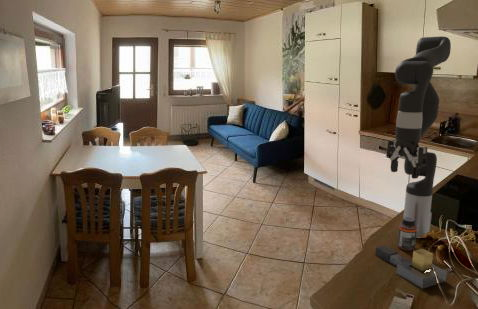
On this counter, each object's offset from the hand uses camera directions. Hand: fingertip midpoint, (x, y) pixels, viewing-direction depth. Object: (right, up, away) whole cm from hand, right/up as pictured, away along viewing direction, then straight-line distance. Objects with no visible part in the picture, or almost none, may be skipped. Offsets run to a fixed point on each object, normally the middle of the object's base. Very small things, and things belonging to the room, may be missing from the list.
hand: (404, 174), depth 129 cm
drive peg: (+3, -31, -5) cm, 32 cm away
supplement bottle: (+7, -28, +15) cm, 32 cm away
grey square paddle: (+1, -31, +1) cm, 31 cm away
